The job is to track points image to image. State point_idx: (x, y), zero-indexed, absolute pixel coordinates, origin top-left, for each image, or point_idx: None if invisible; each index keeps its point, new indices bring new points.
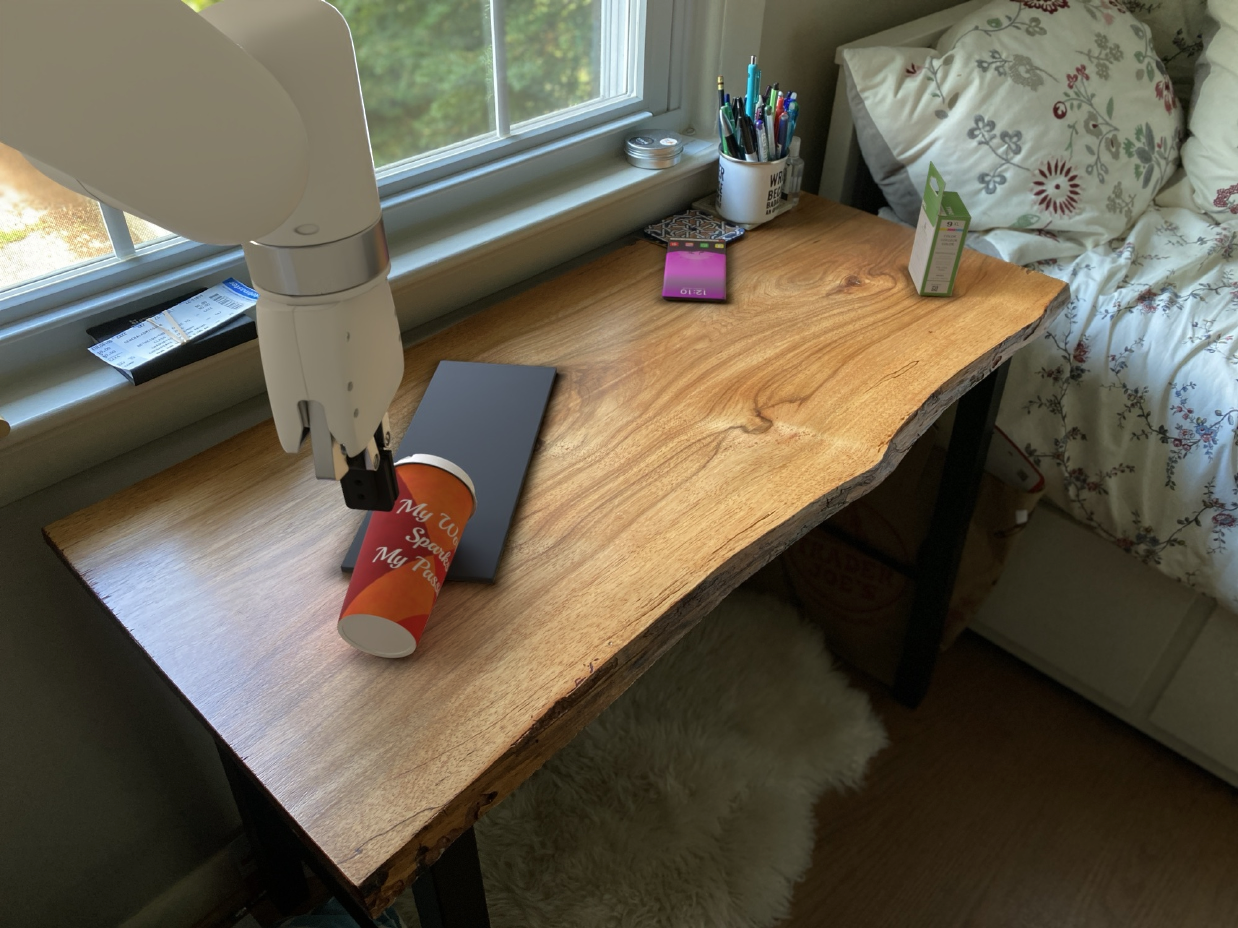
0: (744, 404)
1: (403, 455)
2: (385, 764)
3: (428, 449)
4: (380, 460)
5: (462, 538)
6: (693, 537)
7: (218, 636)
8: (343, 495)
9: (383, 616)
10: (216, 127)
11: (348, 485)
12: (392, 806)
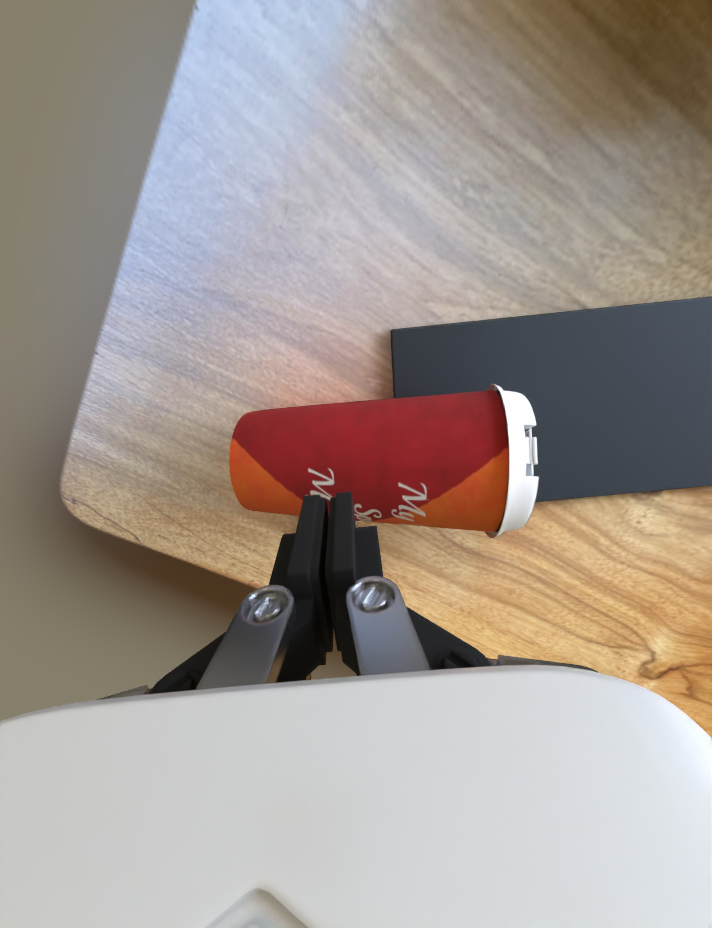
0: (693, 658)
1: (648, 319)
2: (156, 490)
3: (659, 354)
4: (321, 656)
5: None
6: (485, 646)
7: (234, 199)
8: (301, 509)
9: (238, 500)
10: None
11: (273, 568)
12: (122, 510)
